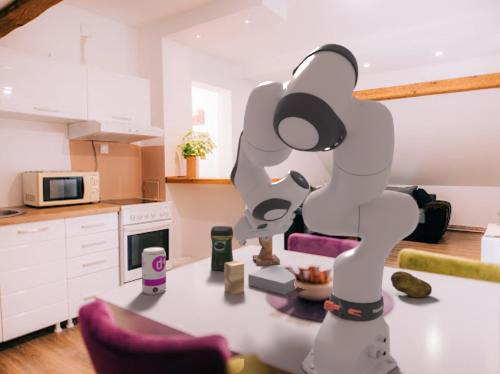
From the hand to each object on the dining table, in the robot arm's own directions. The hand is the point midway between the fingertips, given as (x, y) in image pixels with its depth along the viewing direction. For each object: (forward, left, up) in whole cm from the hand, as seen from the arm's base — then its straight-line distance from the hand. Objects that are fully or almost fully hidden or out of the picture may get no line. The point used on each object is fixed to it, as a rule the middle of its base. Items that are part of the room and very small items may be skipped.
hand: (252, 241), depth 114 cm
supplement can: (-14, +34, -20) cm, 42 cm away
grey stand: (+20, +4, -20) cm, 29 cm away
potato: (+39, -38, -20) cm, 58 cm away
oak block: (+4, +12, -20) cm, 24 cm away
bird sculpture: (+42, +26, -20) cm, 53 cm away
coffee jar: (+21, +34, -20) cm, 45 cm away
